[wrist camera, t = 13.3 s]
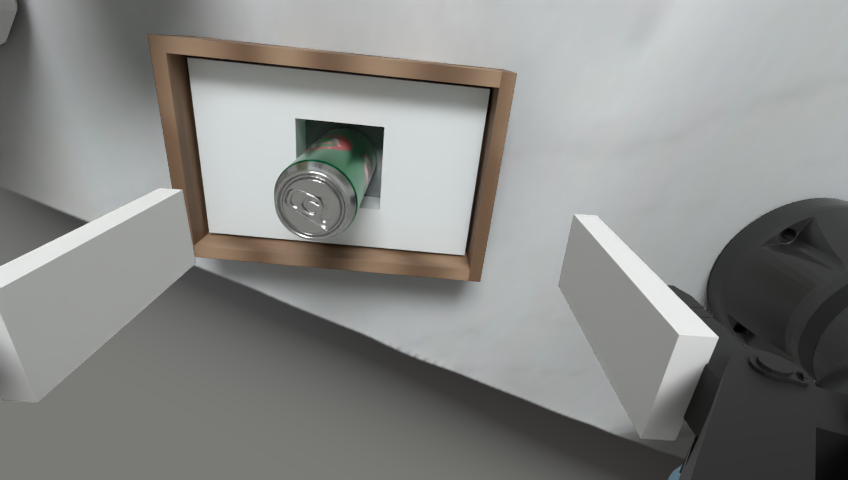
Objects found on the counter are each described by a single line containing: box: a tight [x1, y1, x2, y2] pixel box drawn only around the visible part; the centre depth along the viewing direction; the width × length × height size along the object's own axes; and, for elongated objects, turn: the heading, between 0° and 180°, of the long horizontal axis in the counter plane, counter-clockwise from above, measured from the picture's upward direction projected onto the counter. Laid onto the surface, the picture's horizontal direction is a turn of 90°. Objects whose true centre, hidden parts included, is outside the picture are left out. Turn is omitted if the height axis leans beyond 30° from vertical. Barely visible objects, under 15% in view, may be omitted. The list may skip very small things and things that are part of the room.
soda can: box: [274, 128, 376, 240], centre depth 30 cm, size 5×5×12 cm
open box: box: [148, 34, 517, 282], centre depth 33 cm, size 24×16×5 cm, turn 84°
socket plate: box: [187, 57, 490, 255], centre depth 34 cm, size 21×13×3 cm, turn 84°
